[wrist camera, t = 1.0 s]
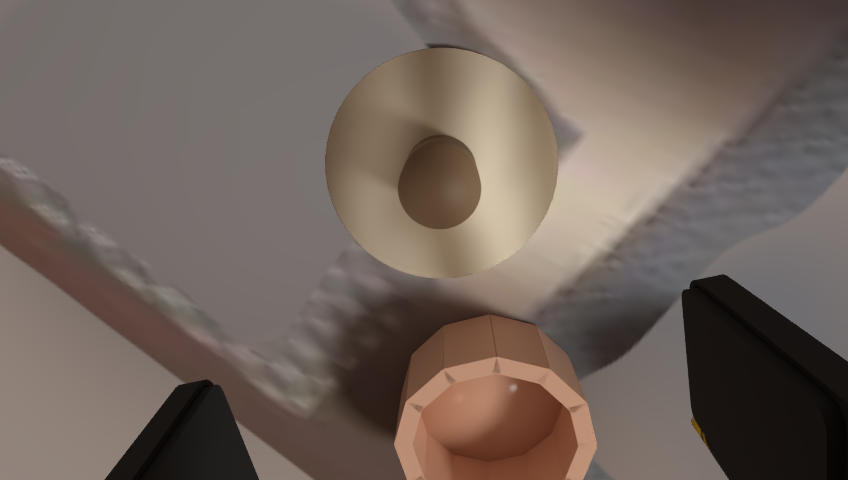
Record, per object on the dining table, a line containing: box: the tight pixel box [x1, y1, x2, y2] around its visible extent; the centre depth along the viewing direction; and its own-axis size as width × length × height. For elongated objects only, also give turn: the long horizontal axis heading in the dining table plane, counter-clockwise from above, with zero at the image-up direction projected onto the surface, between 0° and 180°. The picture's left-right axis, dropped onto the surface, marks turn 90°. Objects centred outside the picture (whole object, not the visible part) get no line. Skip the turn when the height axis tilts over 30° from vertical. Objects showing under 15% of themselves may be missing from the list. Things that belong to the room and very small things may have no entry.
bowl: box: [394, 314, 597, 480], centre depth 32 cm, size 11×11×5 cm
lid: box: [325, 48, 558, 278], centre depth 28 cm, size 13×13×5 cm
